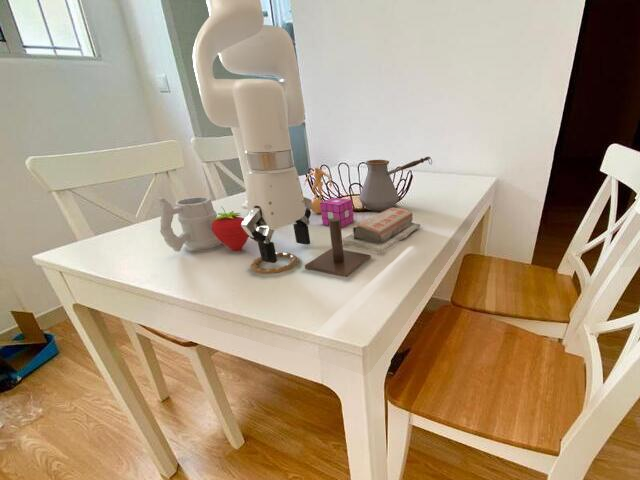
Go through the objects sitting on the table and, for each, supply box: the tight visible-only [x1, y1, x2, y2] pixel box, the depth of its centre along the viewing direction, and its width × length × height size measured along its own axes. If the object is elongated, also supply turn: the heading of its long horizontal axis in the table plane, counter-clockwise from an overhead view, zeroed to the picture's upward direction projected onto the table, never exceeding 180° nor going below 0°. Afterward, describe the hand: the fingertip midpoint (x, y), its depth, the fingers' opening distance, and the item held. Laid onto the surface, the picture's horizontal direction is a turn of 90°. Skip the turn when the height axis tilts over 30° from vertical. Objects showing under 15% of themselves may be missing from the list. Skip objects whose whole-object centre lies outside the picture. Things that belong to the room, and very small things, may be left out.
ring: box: [250, 251, 300, 275], centre depth 65 cm, size 8×8×1 cm
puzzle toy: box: [320, 196, 355, 229], centre depth 86 cm, size 6×6×6 cm
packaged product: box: [342, 207, 421, 253], centre depth 78 cm, size 18×5×10 cm
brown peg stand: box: [304, 218, 372, 278], centre depth 64 cm, size 9×9×9 cm
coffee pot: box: [358, 156, 433, 212], centre depth 95 cm, size 21×12×15 cm, turn 69°
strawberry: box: [212, 205, 250, 252], centre depth 69 cm, size 6×8×10 cm
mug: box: [157, 196, 223, 253], centre depth 70 cm, size 8×12×12 cm, turn 158°
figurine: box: [303, 166, 333, 214], centre depth 93 cm, size 8×6×12 cm
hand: (287, 251), depth 67 cm, fingers open, 9 cm apart
